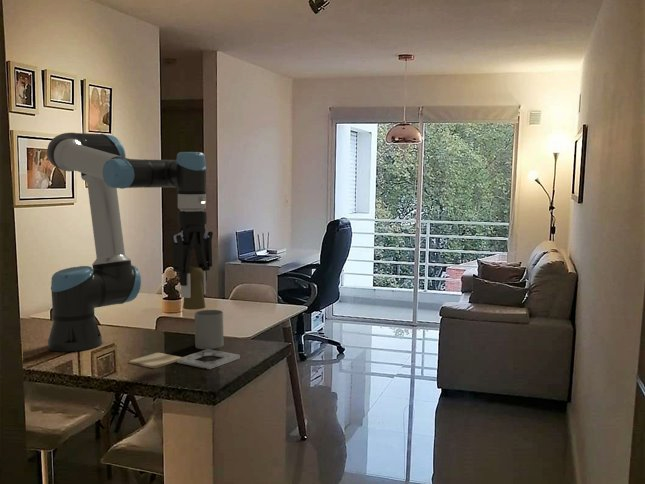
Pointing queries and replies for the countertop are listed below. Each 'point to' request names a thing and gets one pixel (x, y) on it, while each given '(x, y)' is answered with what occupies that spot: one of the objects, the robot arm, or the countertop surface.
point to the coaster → (155, 360)
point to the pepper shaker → (195, 290)
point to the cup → (209, 329)
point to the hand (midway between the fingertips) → (193, 295)
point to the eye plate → (210, 364)
